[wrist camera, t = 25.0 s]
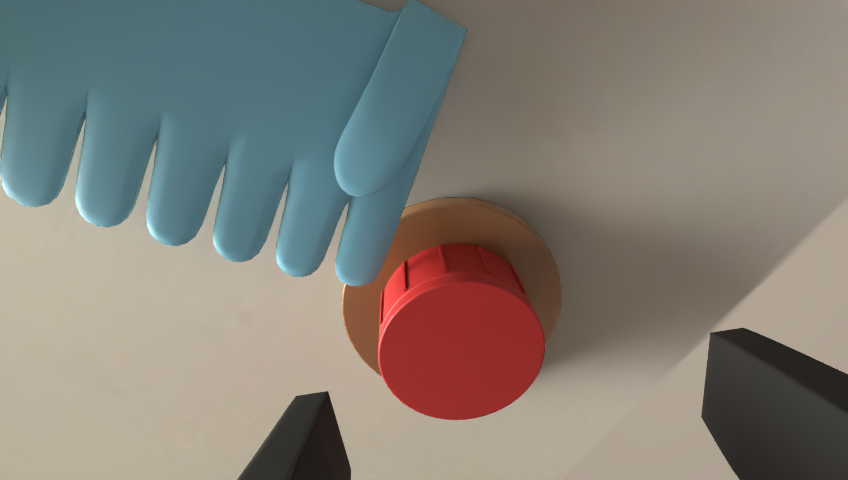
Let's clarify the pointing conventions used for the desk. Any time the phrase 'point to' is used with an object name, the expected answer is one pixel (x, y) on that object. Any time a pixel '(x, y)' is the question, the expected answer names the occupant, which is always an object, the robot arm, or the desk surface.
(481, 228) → the coaster
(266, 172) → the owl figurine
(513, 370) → the cap
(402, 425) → the desk surface
